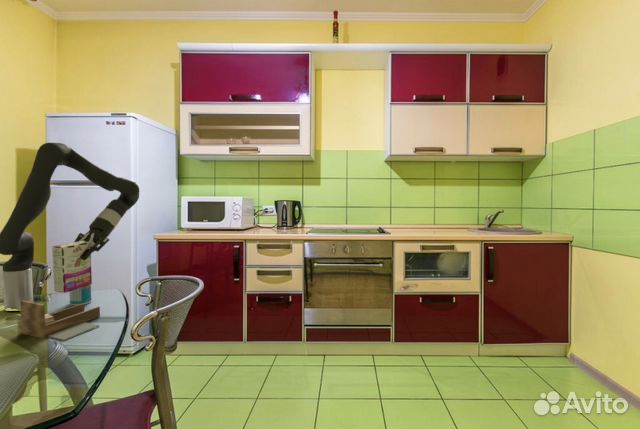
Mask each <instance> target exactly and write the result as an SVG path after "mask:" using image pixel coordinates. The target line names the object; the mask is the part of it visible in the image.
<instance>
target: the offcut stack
mask: <svg viewBox="0 0 640 429" xmlns="http://www.w3.org/2000/svg"><path fill="white" fill-rule="evenodd" d="M48 314H49V313H45V325H46V324H49V323H52V322H55V320H54V319H53V316H51V315H48Z"/></svg>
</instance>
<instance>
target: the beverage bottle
mask: <svg viewBox="0 0 640 429" xmlns="http://www.w3.org/2000/svg"><path fill="white" fill-rule="evenodd" d="M68 293H69V294H68V295H69V305H71V306H76V305H79V304H84V305H87V304H89V303H91V302H92V284H90V285H87V286H84V287H81V288H78V289H75V290H72V291H69V292H68Z"/></svg>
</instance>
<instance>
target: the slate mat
mask: <svg viewBox="0 0 640 429" xmlns="http://www.w3.org/2000/svg"><path fill="white" fill-rule="evenodd" d="M97 326H99V327H100V325H98V324H94V323H89V322H83V323H80V324H78V325H75V326H73V327H70V328H67V329H65V330H62V331H59V332H57V333H54V334H51V335H49V336H47V337H48V338H51V339H54V340H59V341H62V342H65V341H68V340H70V339H73V338H74V337H77V336H79V335H82V334H84V333H85V334H86V333H87V332H89V330H90V331H92V330H94V329H93V328H95V327H97ZM97 328H98V327H97ZM91 329H92V330H91ZM95 329H96V328H95Z"/></svg>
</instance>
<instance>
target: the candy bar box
mask: <svg viewBox="0 0 640 429" xmlns="http://www.w3.org/2000/svg"><path fill="white" fill-rule="evenodd" d="M88 246H89V242H86V241H79V242H74V241H73V242H69V243H63V244H59V245H54V246H51V247H52V248H51V249H52V251H51V252H52V265H53V267H52V268H53V269H52V270H53V284H54V285H53V286H54V288H53V289H54V292H55V293H63V294H64V293H69V291H72V290H75V289H78V288H81V287H84V286H87V285H90V284H91V285H92V284H93V282H92V279H93V278H92V253H91V254H90V256H89V257H88V258H87V259H86V260H82V259H81V258H80V256H81V255H82V254H83V252H84V251H85V250H86V249H87V248H88Z"/></svg>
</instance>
